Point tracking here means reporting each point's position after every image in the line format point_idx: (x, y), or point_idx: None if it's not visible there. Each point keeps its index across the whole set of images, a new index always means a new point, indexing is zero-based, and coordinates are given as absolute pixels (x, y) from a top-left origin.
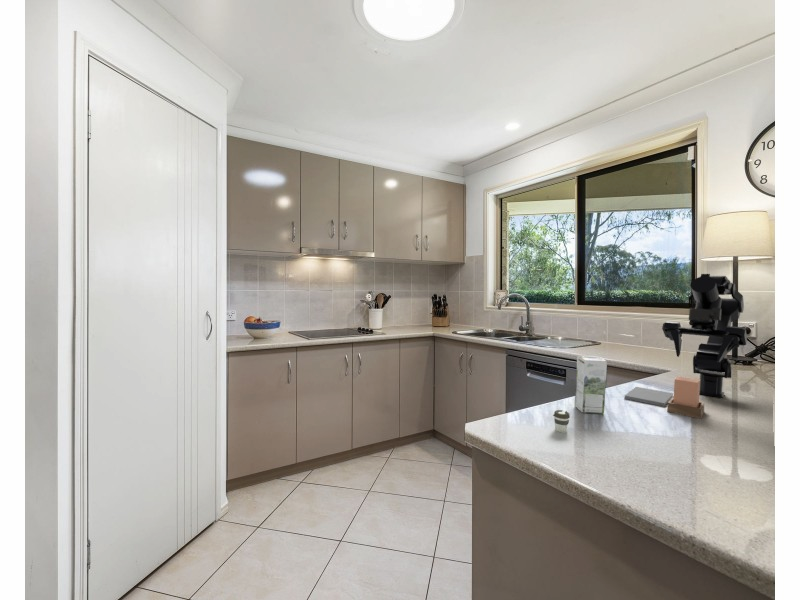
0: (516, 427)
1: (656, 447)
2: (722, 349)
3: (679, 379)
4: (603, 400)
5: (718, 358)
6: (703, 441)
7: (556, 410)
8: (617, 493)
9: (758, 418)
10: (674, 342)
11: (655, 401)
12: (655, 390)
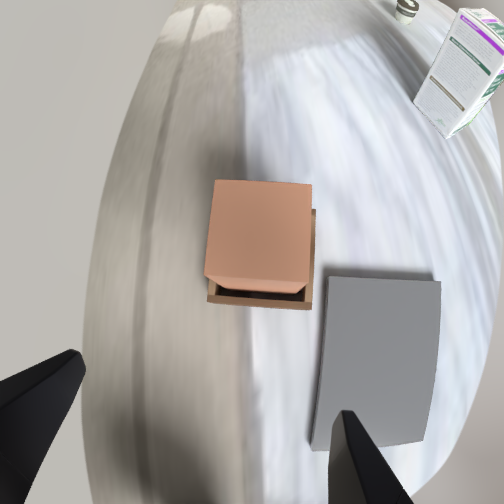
0: (435, 17)
1: (286, 17)
2: (6, 387)
3: (292, 192)
4: (425, 81)
5: (66, 354)
6: (223, 65)
7: (418, 4)
8: None
9: (92, 336)
10: (410, 499)
11: (356, 277)
12: None
